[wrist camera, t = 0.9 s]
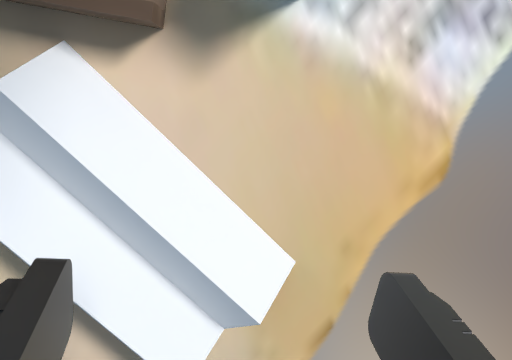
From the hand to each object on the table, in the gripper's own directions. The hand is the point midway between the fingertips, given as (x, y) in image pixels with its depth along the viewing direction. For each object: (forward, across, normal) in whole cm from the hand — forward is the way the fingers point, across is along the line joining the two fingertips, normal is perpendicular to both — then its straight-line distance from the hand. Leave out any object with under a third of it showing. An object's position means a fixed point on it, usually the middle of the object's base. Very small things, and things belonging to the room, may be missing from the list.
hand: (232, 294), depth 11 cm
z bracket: (+24, +5, +10) cm, 26 cm away
